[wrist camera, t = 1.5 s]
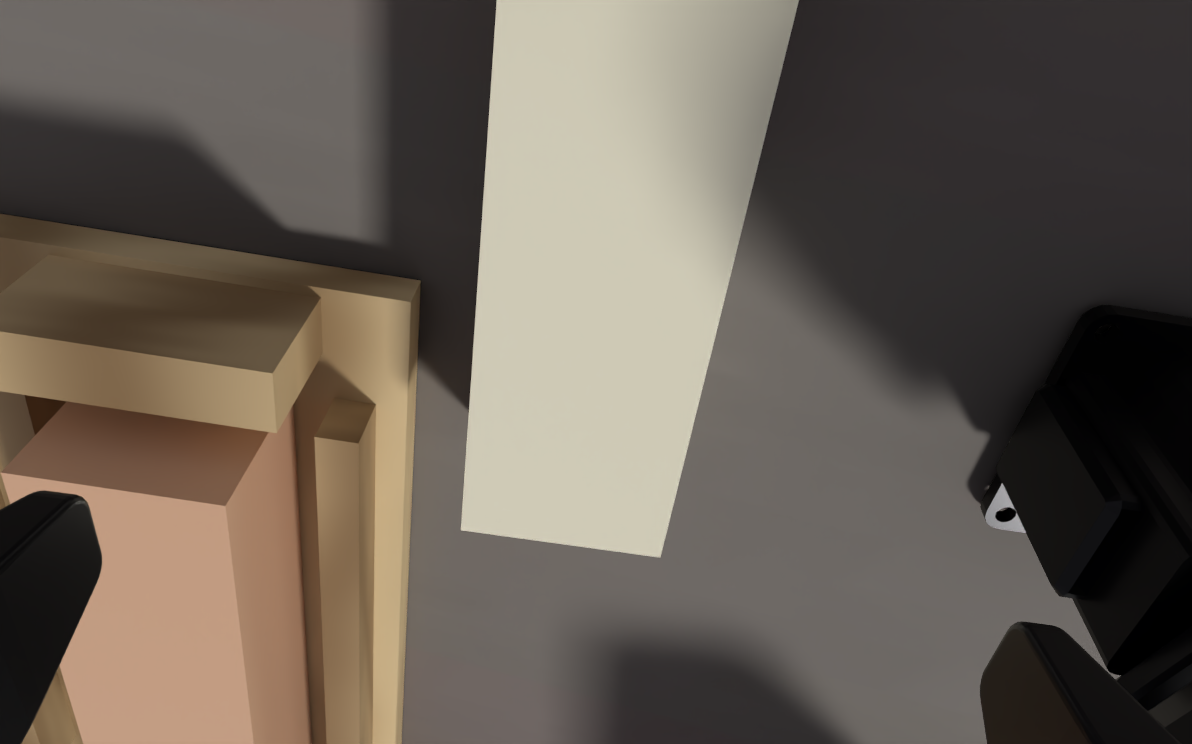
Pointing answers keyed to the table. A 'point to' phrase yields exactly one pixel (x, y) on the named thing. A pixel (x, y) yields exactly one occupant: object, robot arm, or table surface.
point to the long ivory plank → (608, 254)
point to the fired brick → (181, 577)
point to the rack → (241, 416)
